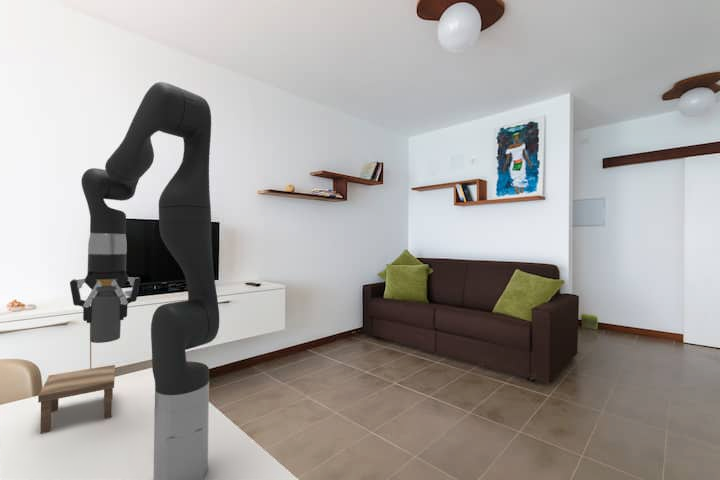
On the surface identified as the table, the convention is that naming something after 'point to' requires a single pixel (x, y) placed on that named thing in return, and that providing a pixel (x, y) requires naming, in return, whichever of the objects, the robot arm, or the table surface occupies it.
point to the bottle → (105, 313)
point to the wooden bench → (75, 390)
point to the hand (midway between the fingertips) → (105, 320)
